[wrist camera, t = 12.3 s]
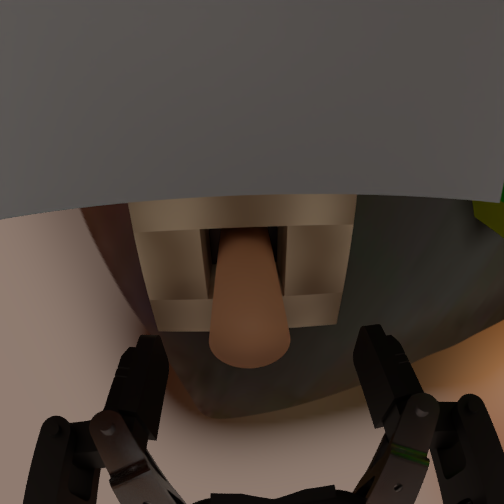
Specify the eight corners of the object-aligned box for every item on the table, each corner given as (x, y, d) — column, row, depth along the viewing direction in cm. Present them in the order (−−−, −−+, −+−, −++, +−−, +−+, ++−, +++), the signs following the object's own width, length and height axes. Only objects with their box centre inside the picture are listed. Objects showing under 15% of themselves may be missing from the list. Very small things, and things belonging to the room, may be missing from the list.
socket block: (337, 40, 14) (362, 28, 10) (322, 289, 23) (336, 324, 19) (138, 46, 13) (113, 35, 10) (168, 295, 22) (158, 331, 19)
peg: (268, 210, 19) (293, 310, 11) (267, 253, 21) (287, 365, 12) (219, 211, 19) (204, 314, 10) (222, 254, 21) (213, 369, 12)
